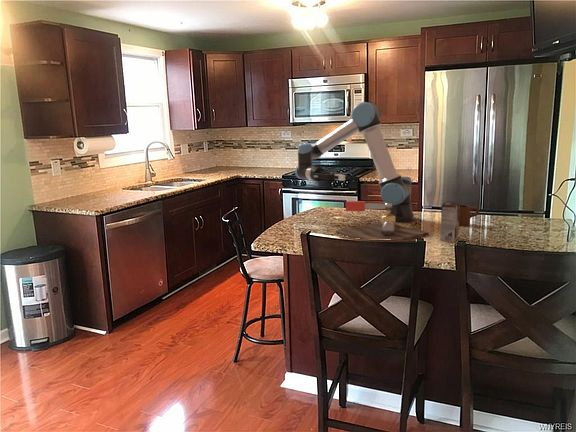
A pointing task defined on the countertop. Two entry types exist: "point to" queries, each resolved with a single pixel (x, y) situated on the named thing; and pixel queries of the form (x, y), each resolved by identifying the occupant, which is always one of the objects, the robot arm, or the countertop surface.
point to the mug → (466, 214)
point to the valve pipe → (388, 224)
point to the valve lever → (365, 206)
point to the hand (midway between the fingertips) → (343, 177)
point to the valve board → (375, 232)
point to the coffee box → (450, 221)
